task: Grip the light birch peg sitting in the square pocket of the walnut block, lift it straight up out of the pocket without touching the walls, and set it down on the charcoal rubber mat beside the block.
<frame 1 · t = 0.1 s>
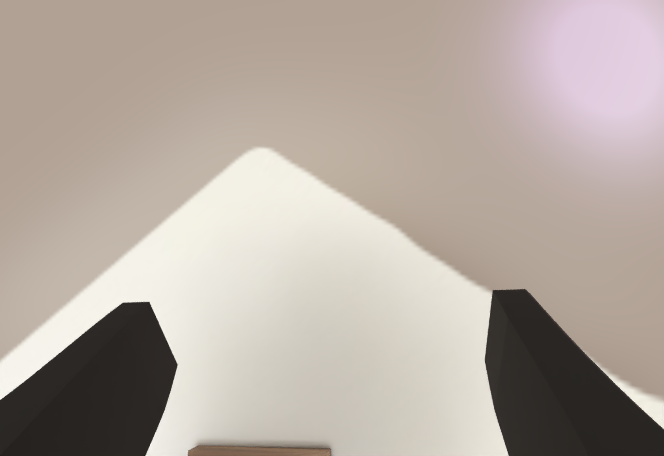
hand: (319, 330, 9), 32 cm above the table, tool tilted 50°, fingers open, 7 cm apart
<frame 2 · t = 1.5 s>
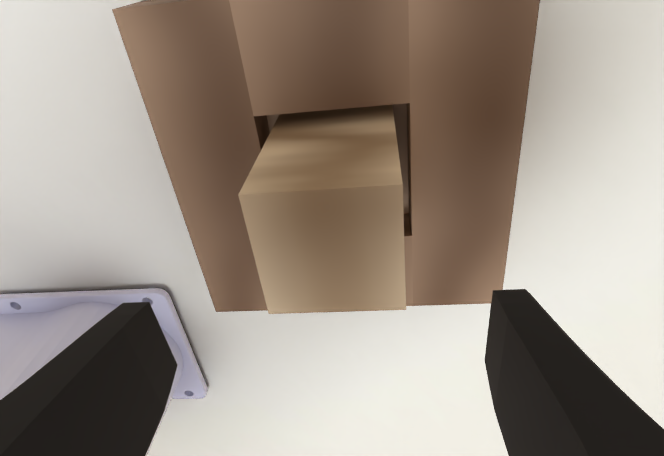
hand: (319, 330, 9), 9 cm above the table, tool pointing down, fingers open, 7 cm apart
pocket block: (341, 156, 17), on the table
birch peg: (340, 160, 17), resting on pocket block
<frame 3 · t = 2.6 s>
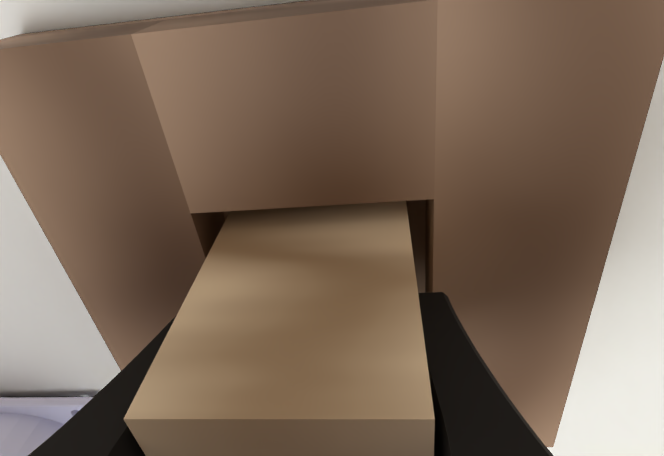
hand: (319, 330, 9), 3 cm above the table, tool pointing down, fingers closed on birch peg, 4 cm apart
pocket block: (329, 248, 12), on the table
birch peg: (328, 257, 12), resting on pocket block, touching gripper
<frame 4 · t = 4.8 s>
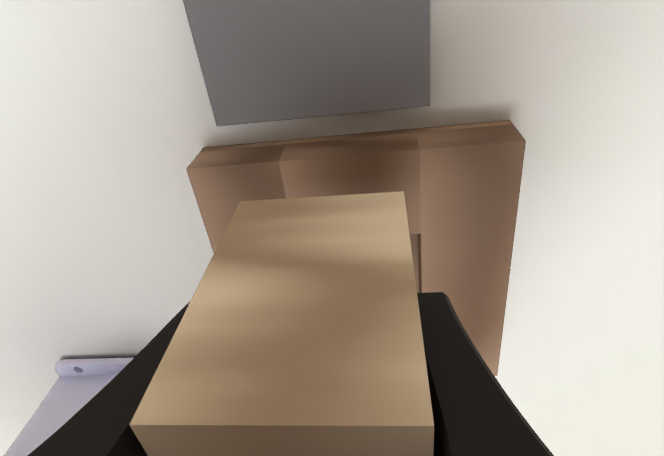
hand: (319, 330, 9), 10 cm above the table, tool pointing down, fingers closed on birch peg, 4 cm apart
pocket block: (362, 257, 20), on the table
birch peg: (329, 262, 12), point 7 cm above the table, touching gripper
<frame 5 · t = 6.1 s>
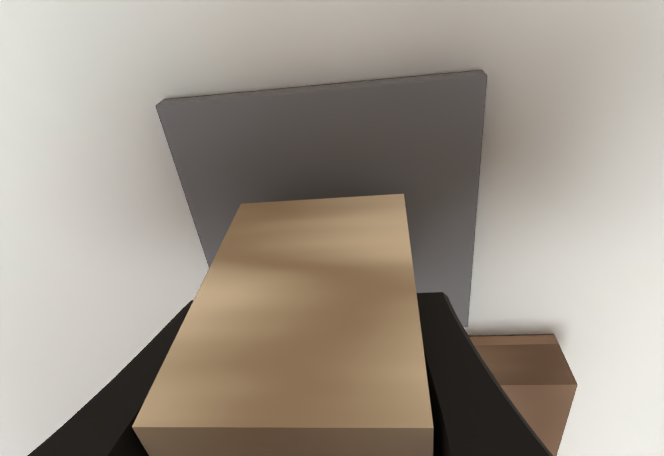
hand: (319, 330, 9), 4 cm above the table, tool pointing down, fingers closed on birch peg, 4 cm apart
pocket block: (384, 436, 19), on the table
birch peg: (329, 263, 12), point 2 cm above the table, touching gripper
rubber mat: (333, 221, 13), on the table
when the fingers open (4 cm above the table, at t = 6.9 s): birch peg drops 1 cm, resting on rubber mat.
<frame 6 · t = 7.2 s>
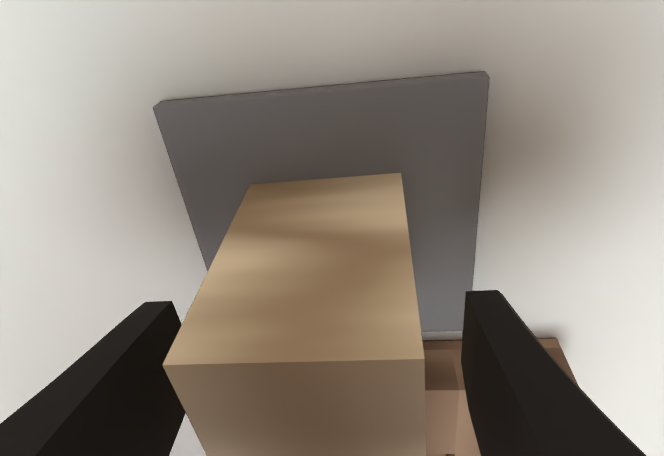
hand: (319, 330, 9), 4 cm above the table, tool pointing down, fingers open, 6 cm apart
pocket block: (384, 440, 19), on the table
birch peg: (333, 241, 13), resting on rubber mat
rubber mat: (333, 224, 13), on the table
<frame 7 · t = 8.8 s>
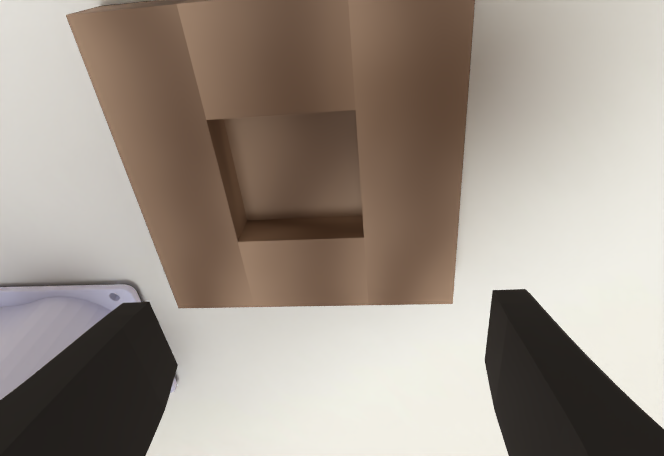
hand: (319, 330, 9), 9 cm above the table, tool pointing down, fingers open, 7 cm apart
pocket block: (298, 159, 18), on the table
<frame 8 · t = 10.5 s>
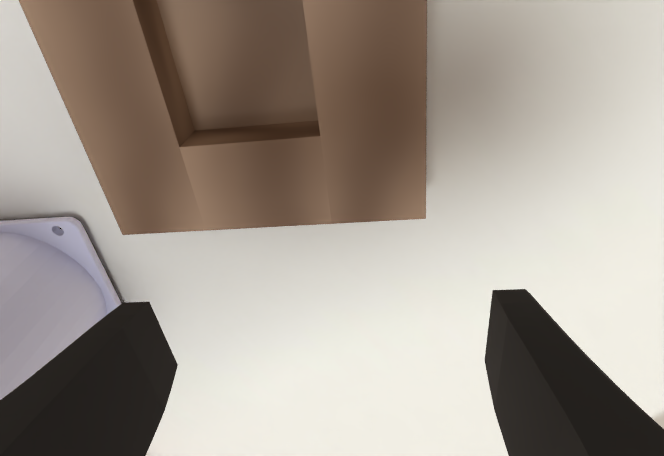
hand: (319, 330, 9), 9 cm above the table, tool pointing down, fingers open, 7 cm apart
pocket block: (246, 52, 15), on the table
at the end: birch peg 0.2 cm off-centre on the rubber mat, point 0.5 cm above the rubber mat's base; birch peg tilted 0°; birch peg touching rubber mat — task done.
